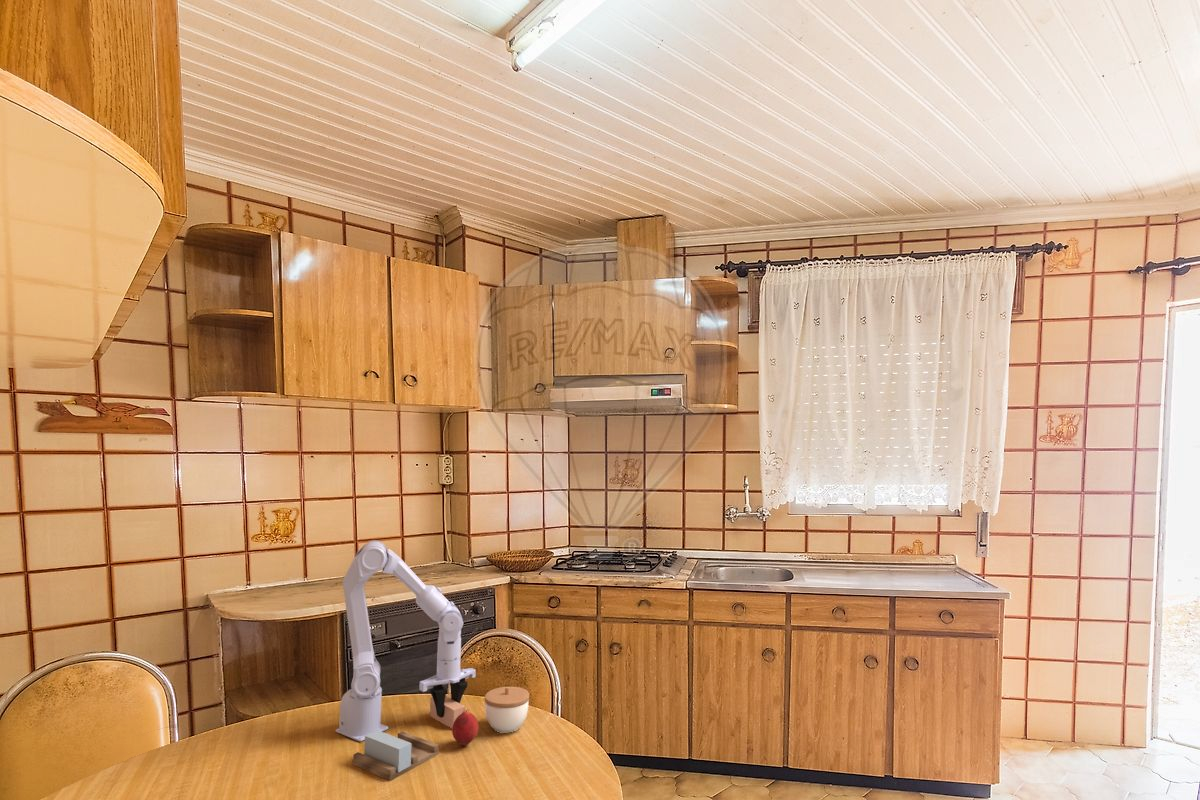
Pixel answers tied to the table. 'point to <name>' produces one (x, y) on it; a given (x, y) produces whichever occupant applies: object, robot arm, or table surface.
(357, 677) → the robot arm
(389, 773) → the walnut rack
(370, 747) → the grey-blue block
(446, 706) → the salmon pink block
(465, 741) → the onion
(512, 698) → the lidded jar
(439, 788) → the table surface
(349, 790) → the table surface
